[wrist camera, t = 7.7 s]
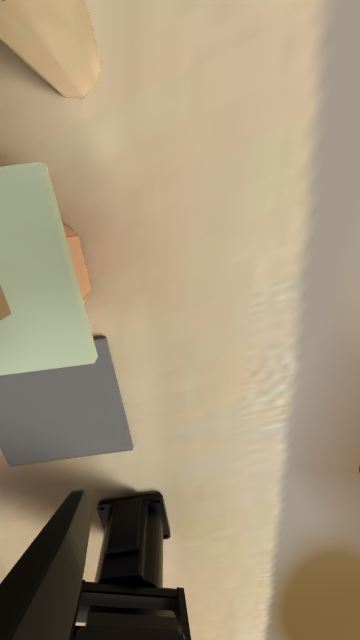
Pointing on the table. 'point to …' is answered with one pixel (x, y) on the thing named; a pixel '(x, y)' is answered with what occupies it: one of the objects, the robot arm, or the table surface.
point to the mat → (63, 412)
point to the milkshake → (54, 42)
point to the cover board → (37, 279)
